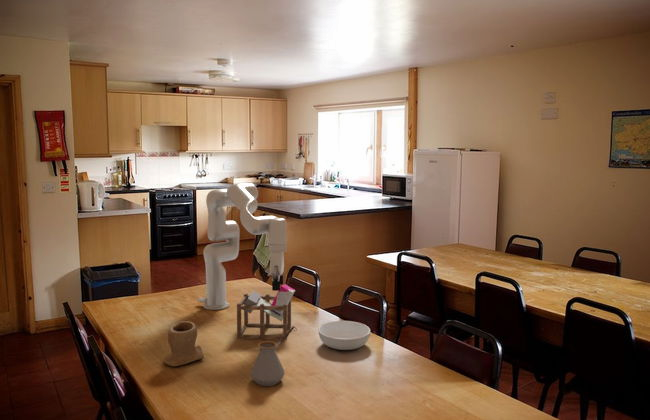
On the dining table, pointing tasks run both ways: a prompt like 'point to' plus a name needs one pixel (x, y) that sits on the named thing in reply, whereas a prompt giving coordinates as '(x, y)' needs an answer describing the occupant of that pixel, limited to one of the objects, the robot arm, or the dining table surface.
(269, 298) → the stand
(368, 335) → the serving bowl
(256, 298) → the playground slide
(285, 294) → the supplement box
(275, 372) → the coffee pot
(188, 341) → the stone cup
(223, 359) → the dining table surface
